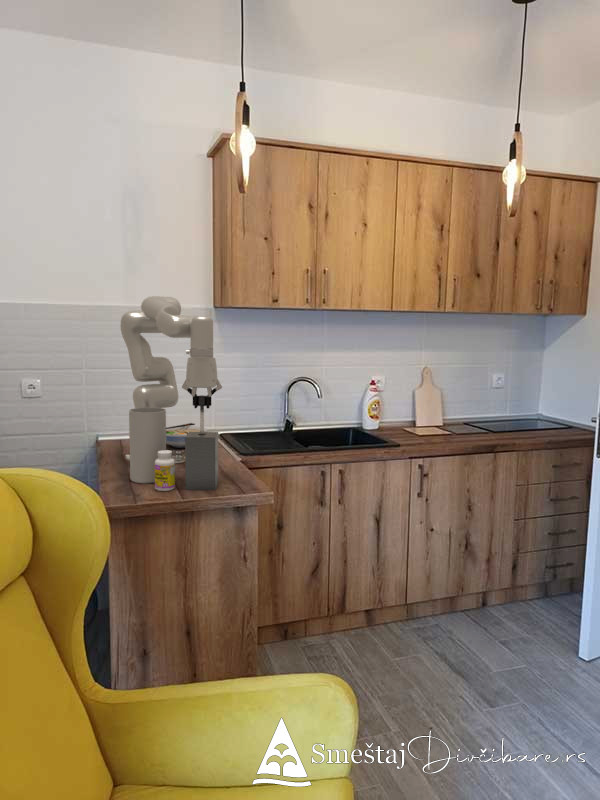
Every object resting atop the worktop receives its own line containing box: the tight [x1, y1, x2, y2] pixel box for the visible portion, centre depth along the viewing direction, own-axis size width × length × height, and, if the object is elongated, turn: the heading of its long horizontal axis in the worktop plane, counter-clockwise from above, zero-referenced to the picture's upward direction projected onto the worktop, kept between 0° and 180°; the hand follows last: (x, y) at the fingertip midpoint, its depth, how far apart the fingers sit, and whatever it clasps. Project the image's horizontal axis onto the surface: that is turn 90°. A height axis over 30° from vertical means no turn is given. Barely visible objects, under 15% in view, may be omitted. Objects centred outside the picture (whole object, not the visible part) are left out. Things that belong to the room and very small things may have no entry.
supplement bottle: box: [154, 449, 176, 492], centre depth 201 cm, size 7×7×13 cm
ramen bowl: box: [166, 422, 208, 449], centre depth 270 cm, size 25×23×8 cm
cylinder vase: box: [128, 407, 167, 484], centre depth 212 cm, size 12×12×25 cm
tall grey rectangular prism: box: [184, 431, 219, 491], centre depth 207 cm, size 10×13×18 cm
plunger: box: [197, 394, 207, 435], centre depth 204 cm, size 7×7×21 cm
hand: (202, 407), depth 203 cm, fingers closed on plunger, 3 cm apart
